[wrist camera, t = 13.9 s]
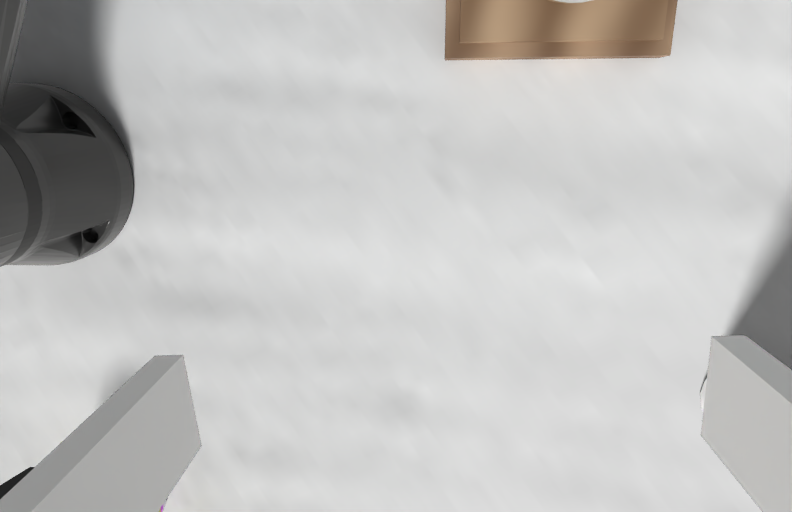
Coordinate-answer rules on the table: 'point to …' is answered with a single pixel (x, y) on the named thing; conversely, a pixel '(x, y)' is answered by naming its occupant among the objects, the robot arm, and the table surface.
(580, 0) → the vase
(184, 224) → the table surface
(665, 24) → the pedestal
